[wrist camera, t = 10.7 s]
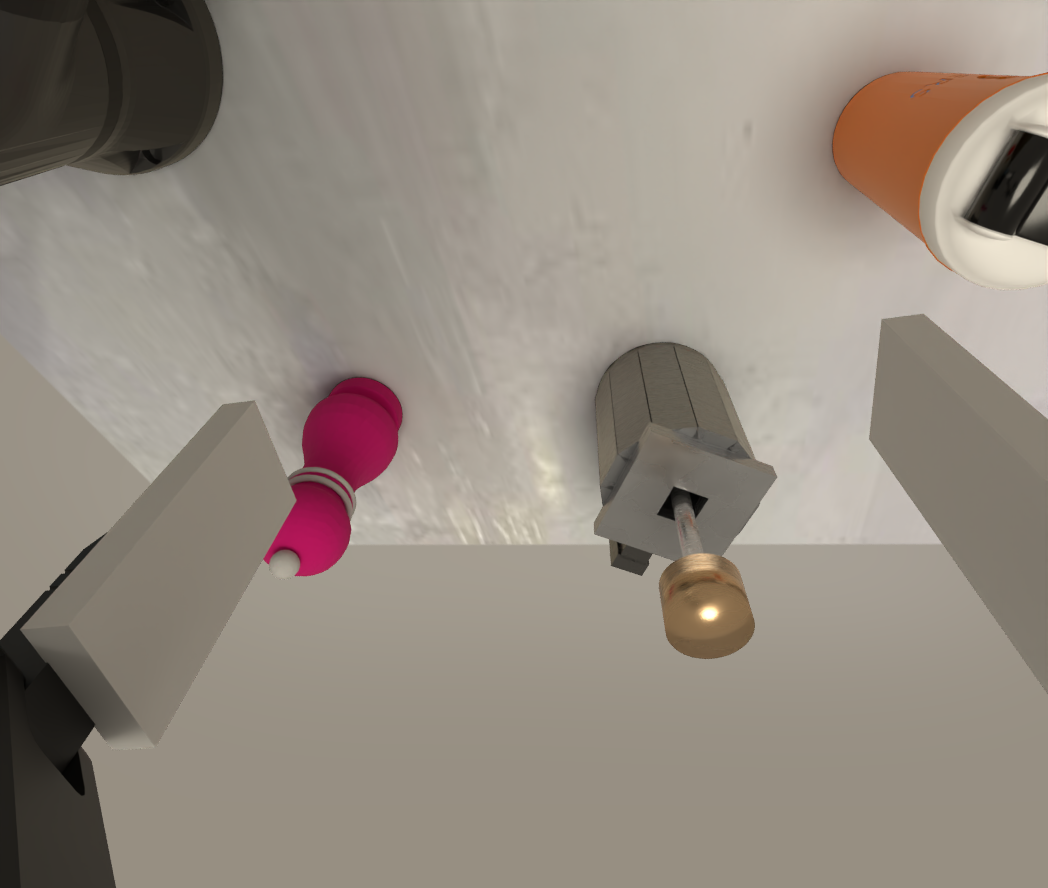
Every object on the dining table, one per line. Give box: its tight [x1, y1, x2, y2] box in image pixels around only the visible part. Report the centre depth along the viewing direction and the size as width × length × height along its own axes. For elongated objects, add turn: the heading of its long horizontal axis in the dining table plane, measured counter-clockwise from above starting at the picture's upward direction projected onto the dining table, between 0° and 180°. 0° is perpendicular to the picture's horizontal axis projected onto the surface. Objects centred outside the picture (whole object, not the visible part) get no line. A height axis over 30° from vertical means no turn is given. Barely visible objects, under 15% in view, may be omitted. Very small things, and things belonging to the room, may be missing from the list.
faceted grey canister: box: [594, 343, 777, 576], centre depth 50 cm, size 10×13×14 cm
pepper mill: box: [264, 378, 402, 580], centre depth 49 cm, size 7×7×20 cm
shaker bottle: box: [833, 72, 1048, 290], centre depth 36 cm, size 9×9×20 cm
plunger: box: [659, 487, 755, 659], centre depth 43 cm, size 7×7×20 cm
